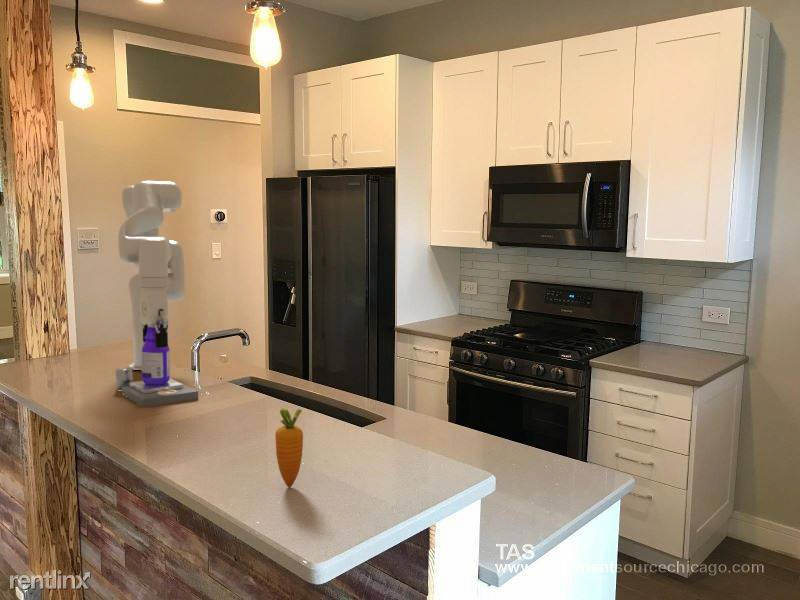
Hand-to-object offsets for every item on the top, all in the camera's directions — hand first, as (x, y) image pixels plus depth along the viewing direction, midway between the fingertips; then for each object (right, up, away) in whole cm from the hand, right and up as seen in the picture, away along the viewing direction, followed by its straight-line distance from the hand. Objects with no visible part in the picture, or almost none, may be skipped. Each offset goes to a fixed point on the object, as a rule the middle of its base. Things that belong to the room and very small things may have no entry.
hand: (155, 344), depth 186 cm
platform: (0, -12, +1) cm, 12 cm away
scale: (+2, -15, -1) cm, 15 cm away
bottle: (0, -11, +1) cm, 11 cm away
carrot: (+48, -22, -64) cm, 83 cm away
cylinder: (-11, -14, +7) cm, 19 cm away
